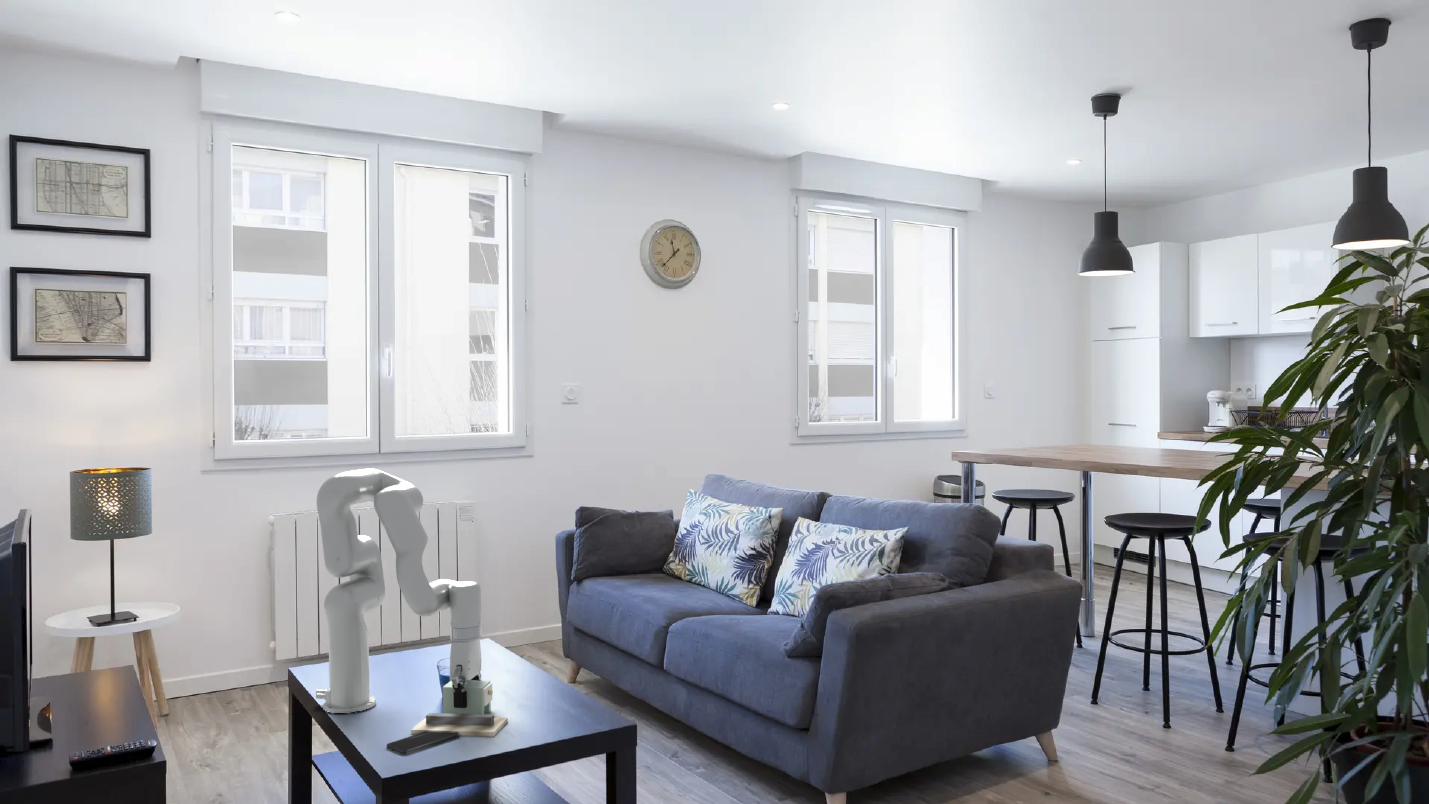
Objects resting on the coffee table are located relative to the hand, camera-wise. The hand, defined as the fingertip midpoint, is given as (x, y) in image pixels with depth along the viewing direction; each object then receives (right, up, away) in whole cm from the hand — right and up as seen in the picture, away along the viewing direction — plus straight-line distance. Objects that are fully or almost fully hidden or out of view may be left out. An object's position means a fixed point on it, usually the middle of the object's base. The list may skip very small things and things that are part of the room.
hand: (467, 701), depth 247 cm
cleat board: (+1, -3, -10) cm, 11 cm away
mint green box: (0, -3, 0) cm, 3 cm away
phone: (-5, -4, -19) cm, 20 cm away
